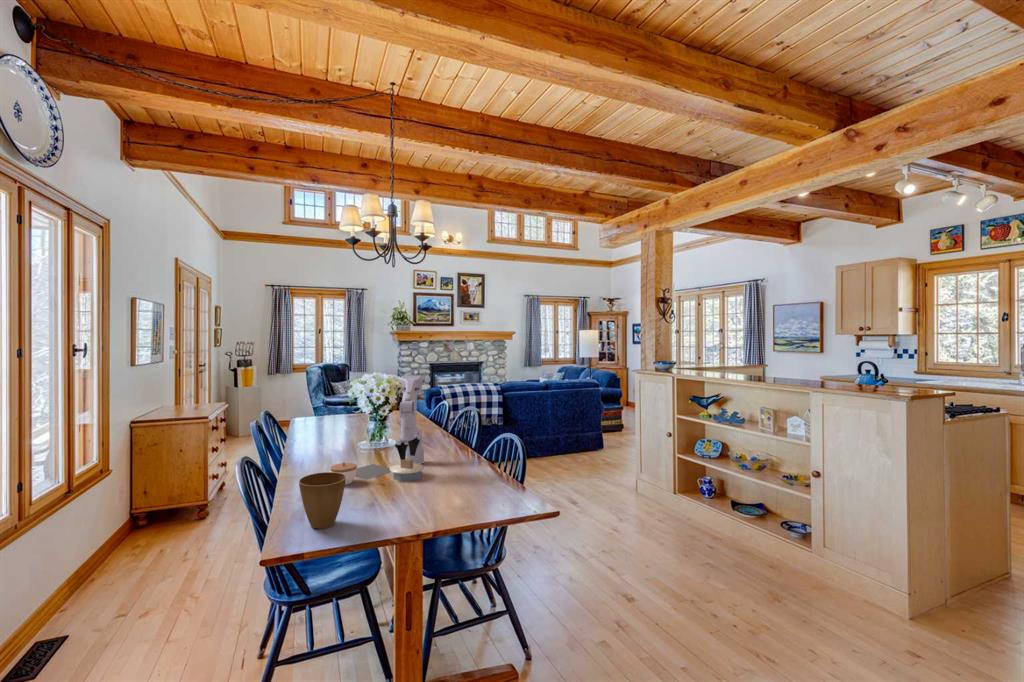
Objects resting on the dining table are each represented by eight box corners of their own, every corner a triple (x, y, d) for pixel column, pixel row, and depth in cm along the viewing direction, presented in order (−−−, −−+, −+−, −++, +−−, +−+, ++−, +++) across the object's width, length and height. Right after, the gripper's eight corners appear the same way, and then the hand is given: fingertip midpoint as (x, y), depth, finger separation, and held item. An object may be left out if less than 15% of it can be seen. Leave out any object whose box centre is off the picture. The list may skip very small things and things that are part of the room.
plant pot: (289, 532, 158) (289, 483, 158) (315, 515, 173) (315, 470, 172) (331, 535, 155) (330, 486, 155) (354, 518, 170) (354, 473, 170)
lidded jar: (361, 480, 213) (360, 459, 213) (350, 488, 203) (350, 466, 202) (337, 479, 214) (337, 458, 214) (326, 487, 204) (325, 465, 203)
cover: (402, 463, 228) (402, 454, 228) (430, 466, 222) (430, 457, 222) (382, 471, 214) (382, 462, 214) (411, 475, 208) (411, 465, 208)
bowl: (408, 472, 226) (408, 464, 226) (427, 476, 219) (427, 468, 219) (388, 478, 216) (388, 470, 216) (407, 483, 209) (407, 474, 209)
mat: (372, 464, 239) (372, 463, 239) (397, 470, 229) (397, 469, 229) (341, 473, 224) (341, 472, 224) (366, 480, 214) (366, 479, 214)
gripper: (409, 423, 225) (409, 452, 226) (390, 429, 212) (390, 460, 212) (422, 425, 223) (422, 454, 223) (403, 431, 209) (403, 462, 210)
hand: (407, 457), depth 218 cm, fingers open, 7 cm apart
